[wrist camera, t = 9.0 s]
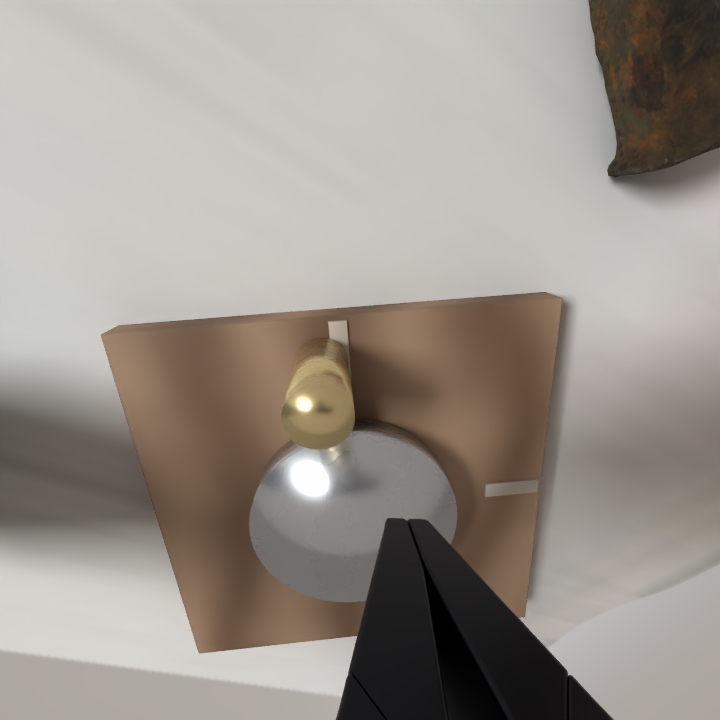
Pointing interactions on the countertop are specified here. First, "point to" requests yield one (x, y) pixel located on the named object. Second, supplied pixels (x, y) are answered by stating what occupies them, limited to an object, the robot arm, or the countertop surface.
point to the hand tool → (659, 79)
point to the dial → (339, 484)
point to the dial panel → (371, 402)
